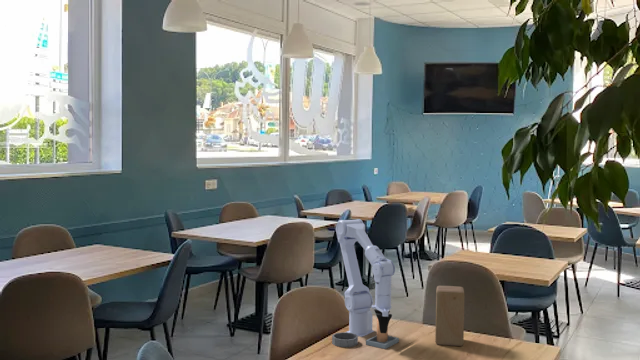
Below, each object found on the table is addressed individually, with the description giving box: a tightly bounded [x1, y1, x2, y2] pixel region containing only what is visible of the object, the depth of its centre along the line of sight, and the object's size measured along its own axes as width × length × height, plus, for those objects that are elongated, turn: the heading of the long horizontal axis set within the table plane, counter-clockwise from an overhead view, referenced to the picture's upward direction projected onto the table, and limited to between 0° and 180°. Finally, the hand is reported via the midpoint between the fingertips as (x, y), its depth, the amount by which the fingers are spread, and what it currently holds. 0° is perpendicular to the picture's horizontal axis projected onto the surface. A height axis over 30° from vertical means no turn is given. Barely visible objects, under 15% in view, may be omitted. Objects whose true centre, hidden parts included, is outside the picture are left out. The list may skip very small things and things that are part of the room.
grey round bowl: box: [331, 331, 359, 348], centre depth 222 cm, size 9×9×3 cm
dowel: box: [376, 317, 389, 342], centre depth 222 cm, size 4×4×8 cm
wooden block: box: [434, 285, 465, 347], centre depth 226 cm, size 10×10×20 cm
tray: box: [365, 335, 400, 350], centre depth 222 cm, size 10×8×2 cm
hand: (382, 331), depth 222 cm, fingers closed on dowel, 4 cm apart
